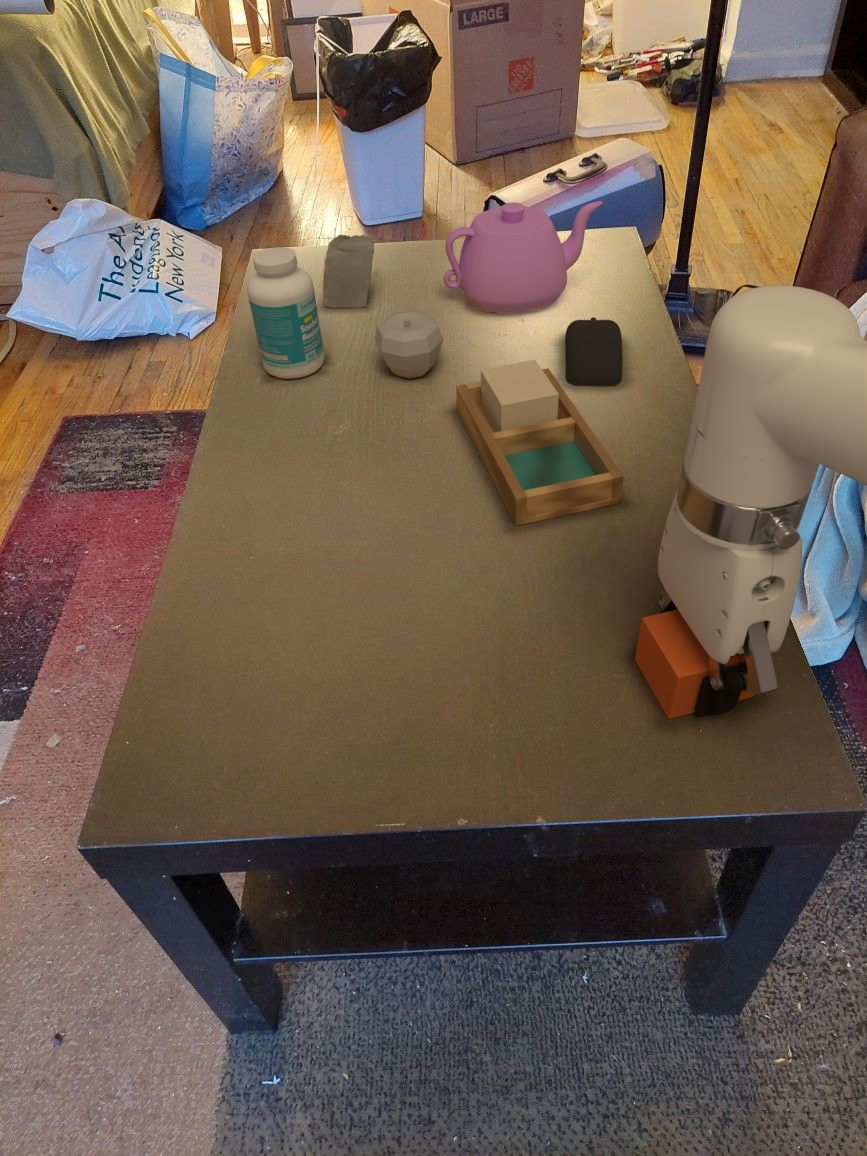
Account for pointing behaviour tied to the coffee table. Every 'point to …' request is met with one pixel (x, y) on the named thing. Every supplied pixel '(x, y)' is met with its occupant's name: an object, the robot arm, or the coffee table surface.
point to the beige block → (517, 396)
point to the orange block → (674, 662)
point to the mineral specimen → (348, 271)
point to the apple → (409, 343)
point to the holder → (543, 460)
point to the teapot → (514, 258)
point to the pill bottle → (285, 315)
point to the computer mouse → (593, 353)
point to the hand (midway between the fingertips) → (693, 673)
